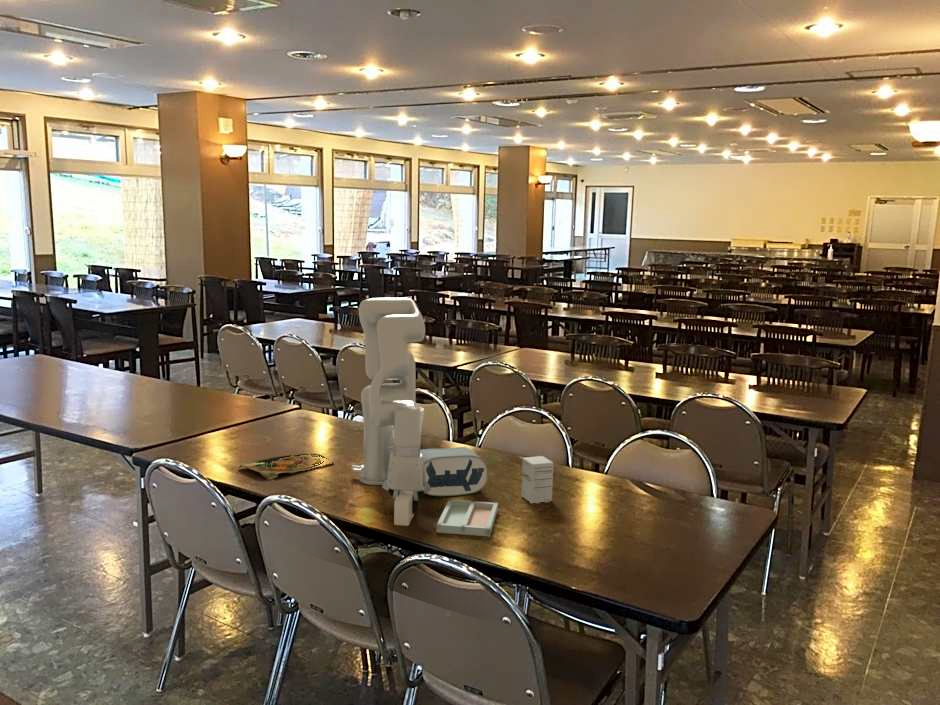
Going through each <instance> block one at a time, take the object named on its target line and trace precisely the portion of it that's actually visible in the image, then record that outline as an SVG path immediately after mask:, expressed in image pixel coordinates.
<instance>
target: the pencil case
mask: <svg viewBox="0 0 940 705" xmlns="http://www.w3.org/2000/svg"><path fill="white" fill-rule="evenodd" d="M420 453H421V454H422V455H423V461H424V470H425V479H426V481H427V482H428V484H429V486H430V487H431V490H430V491H429V492H427V493H425V494H426V495H428V496H433V497H455V496H465V495H470V494H474V493H477V492H481V490H482V489H484V487H485V486H486V484H488V483H487V482H488V479H489V470H488V466H487V463H486V461H485V460H484V459H483V458H482V457H480V456H479V455H478V454H477V453H476V452H474V451H473V450H472V449H471V448H468V447H465V446H461V447H450V448H449V447H448V448H425V449H424V448H423V449H420ZM423 489H424V486H423V488H422V490H423Z"/></svg>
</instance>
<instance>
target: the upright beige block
mask: <svg viewBox="0 0 940 705" xmlns="http://www.w3.org/2000/svg"><path fill="white" fill-rule="evenodd" d="M413 498H414V496H413V491H401V490H400V492H399V495H398V496H397V498H396V499H395V501H394V500H393V502H394V503H393V509H394V510H393V513H394V515H393V521H394V523H393V525H394V526H405V527H409V526H410V523H411V521H412V519H413V518H414V516H415V514H413V513H412V501H413Z"/></svg>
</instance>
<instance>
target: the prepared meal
mask: <svg viewBox="0 0 940 705" xmlns="http://www.w3.org/2000/svg"><path fill="white" fill-rule="evenodd" d="M297 454H298V455H295V454H289V455H282V456H275V457H269V458H263V459H255V460H248V461H247V462H246V463H243V464H240V465H239V467H238V469H239V468H240V467H241V468H247V469H249V470H252V471H253V472H254V471H255V472H258V473H259V474H260V475H261V476H262V477H264V478H265V477H266V478H269V477H277V478H278V475H279V474H283V473H288V474H295V473H297V472H305V470H307V469H309V468H310V469H311V468H312V467H315V466H318V465H320V464H322V463H323V462H324V461H323V462H322V463H321V460H320V459H318V460H317V459H316V460H315V461H314V462H312V463H311V464H310V463H308V462H306V461H307V460H303V459H302V457H299V456H300V455H309V454H311V456H312V457H318V456H319V457H320V456H321V457H322V458H326V459H328V460H330V459H329V458H327V457H325V456H323V455H321V454H320V453H309V454H308V453H297ZM290 456H291V457H290ZM285 457H289V458H286V459H282V460H279V459H280V458H285ZM301 459H302V460H301ZM272 461H275V462H274V463H273V465H272V467H271V464H270V463H271V462H272ZM303 461H304V462H303ZM301 463H303V464H305V463H306V465H307V466H310V465H314V466H311V467H307V468H297V465H298V464H301ZM319 463H320V464H319ZM331 463H333V464H336V462H334V461H332V462H331ZM269 464H270V465H269ZM315 464H318V465H315ZM329 464H330V463H329ZM306 465H299V466H302V467H306ZM326 465H327V464H326ZM330 465H331V464H330ZM323 466H324V465H323ZM327 466H328V465H327ZM320 467H321V466H320ZM320 467H319V468H320ZM324 467H325V466H324ZM241 468H240V469H241ZM287 468H290V469H287ZM295 468H297V469H295ZM321 468H322V467H321ZM266 478H265V479H266Z"/></svg>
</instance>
